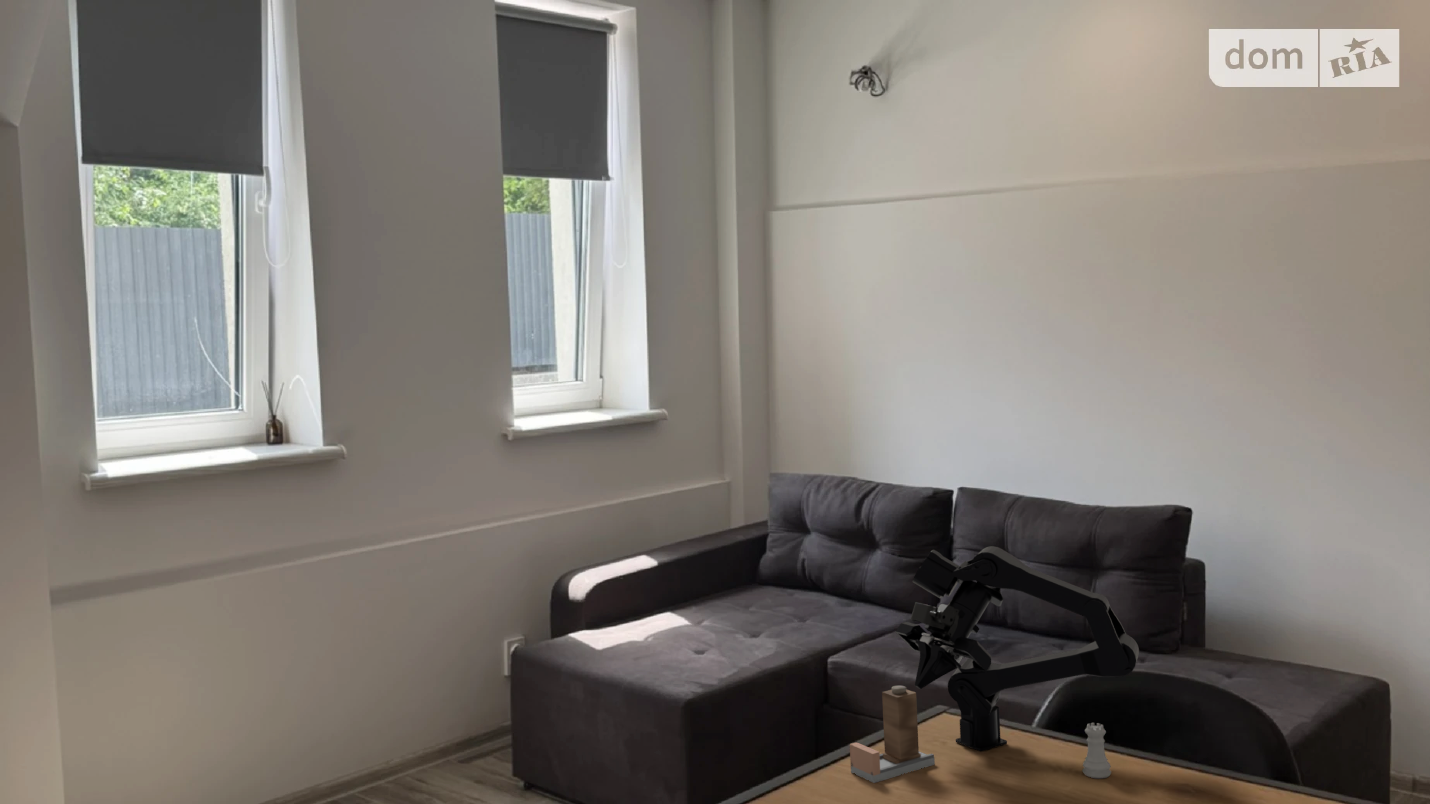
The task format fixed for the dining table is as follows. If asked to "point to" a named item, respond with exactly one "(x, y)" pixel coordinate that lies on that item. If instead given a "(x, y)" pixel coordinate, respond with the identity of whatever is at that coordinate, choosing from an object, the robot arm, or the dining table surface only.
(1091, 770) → the rook chess piece
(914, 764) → the rail
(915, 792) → the dining table surface
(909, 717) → the slider block with knob
